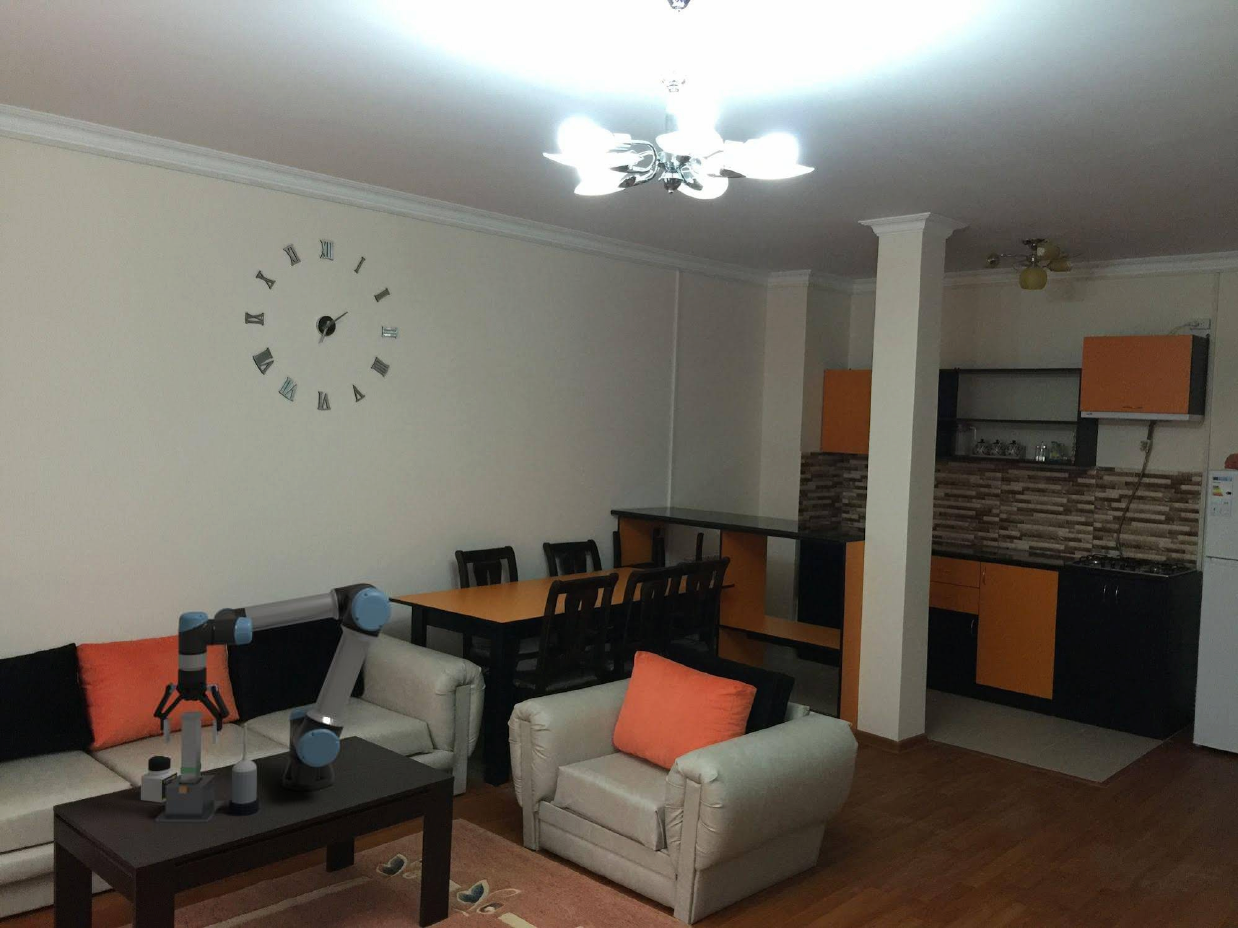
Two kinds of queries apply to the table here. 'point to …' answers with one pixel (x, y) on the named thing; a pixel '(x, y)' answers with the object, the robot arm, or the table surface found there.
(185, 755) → the column
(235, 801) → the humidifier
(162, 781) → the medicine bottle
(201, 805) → the stand housing
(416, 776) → the table surface
